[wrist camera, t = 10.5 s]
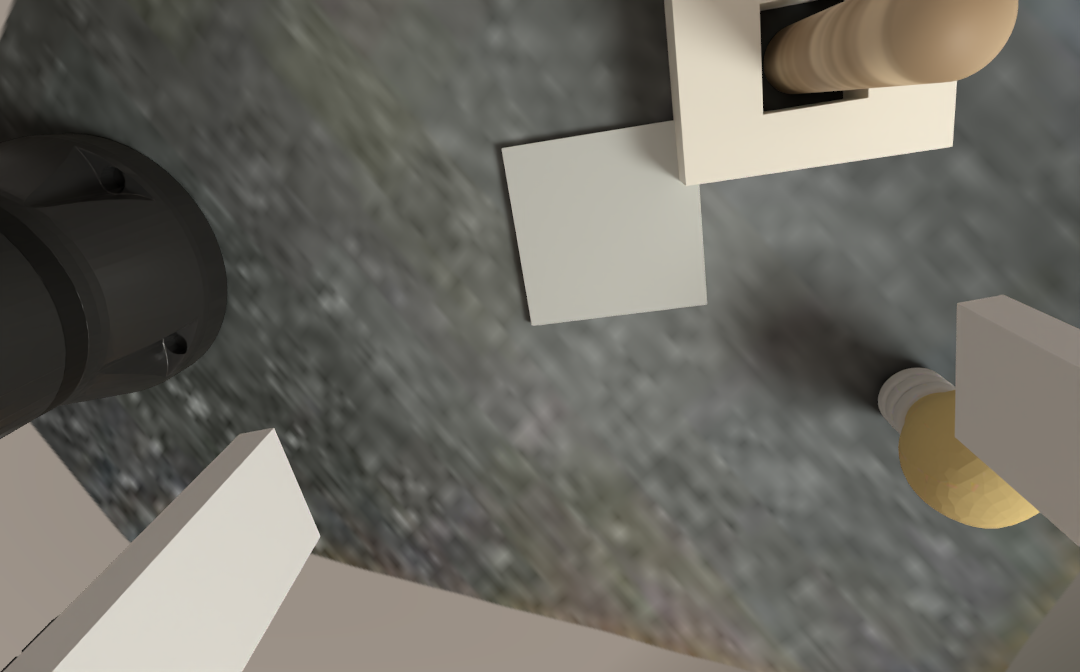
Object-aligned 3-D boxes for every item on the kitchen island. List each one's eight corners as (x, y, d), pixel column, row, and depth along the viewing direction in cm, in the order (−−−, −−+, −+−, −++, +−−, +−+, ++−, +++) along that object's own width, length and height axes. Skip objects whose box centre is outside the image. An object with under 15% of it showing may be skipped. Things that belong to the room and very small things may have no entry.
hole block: (678, 179, 32) (686, 186, 29) (661, -35, 29) (668, -50, 26) (919, 143, 31) (952, 146, 28) (931, -88, 27) (969, -110, 24)
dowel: (764, 99, 31) (890, 91, 17) (762, 29, 29) (895, -35, 16) (831, 88, 30) (1012, 71, 17) (831, 16, 29) (1024, -59, 16)
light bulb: (826, 391, 36) (908, 491, 26) (922, 319, 34) (1047, 399, 24) (892, 460, 37) (994, 579, 28) (989, 394, 35) (1133, 498, 26)
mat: (532, 323, 36) (532, 325, 35) (502, 147, 32) (501, 148, 32) (706, 302, 34) (707, 304, 34) (693, 116, 31) (694, 116, 31)
